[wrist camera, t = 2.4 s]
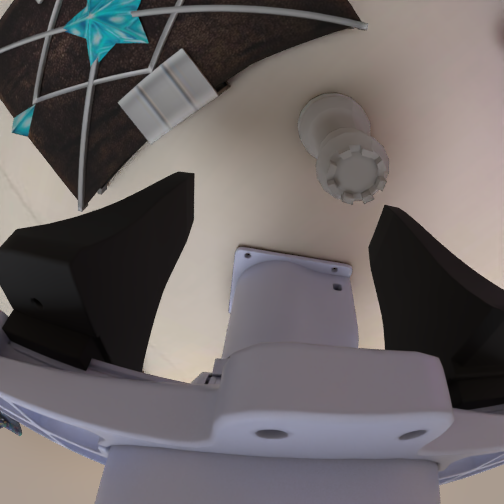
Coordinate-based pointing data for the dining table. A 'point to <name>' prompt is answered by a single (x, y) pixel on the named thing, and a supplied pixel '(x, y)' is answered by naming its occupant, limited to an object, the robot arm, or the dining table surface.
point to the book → (135, 69)
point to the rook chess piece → (343, 148)
